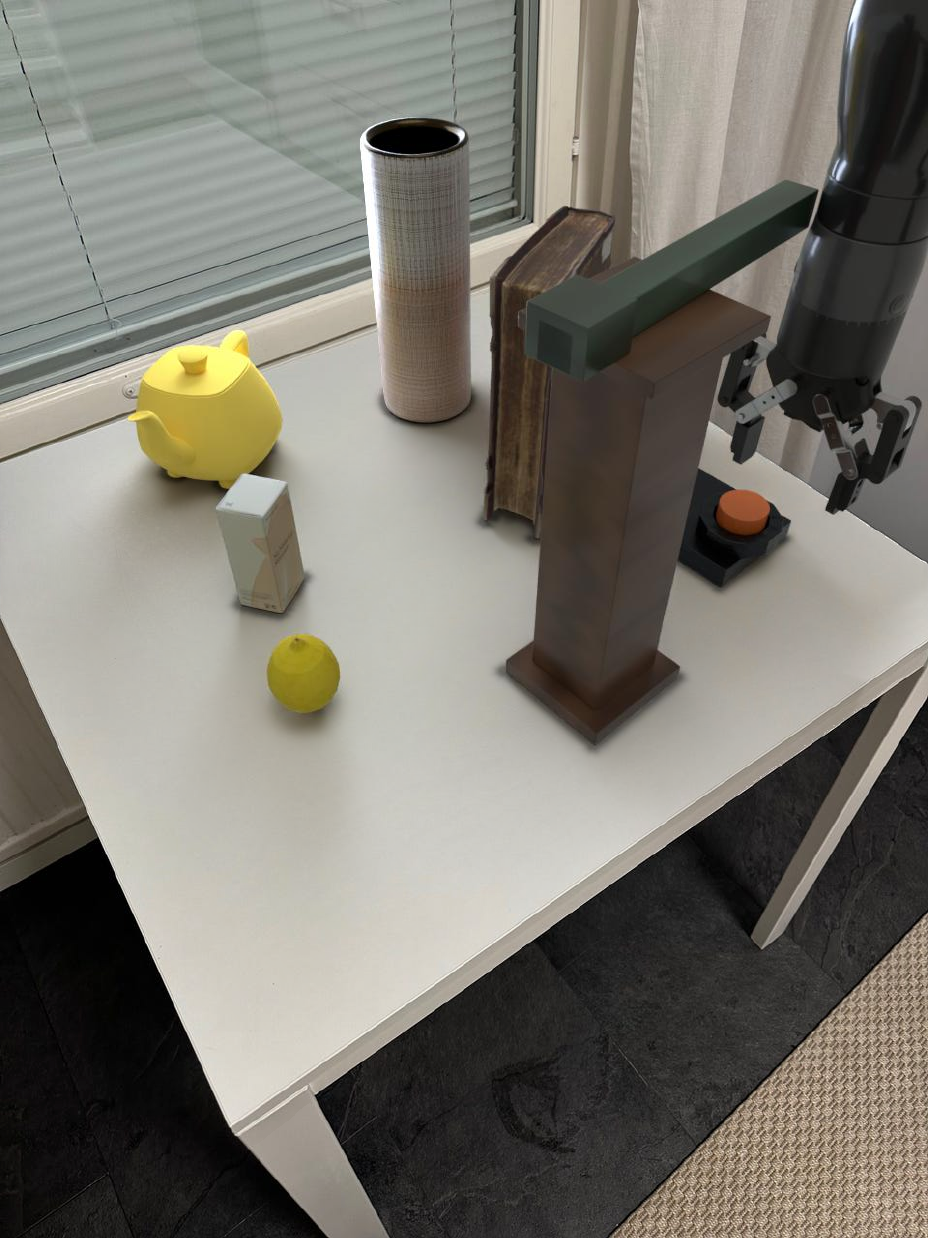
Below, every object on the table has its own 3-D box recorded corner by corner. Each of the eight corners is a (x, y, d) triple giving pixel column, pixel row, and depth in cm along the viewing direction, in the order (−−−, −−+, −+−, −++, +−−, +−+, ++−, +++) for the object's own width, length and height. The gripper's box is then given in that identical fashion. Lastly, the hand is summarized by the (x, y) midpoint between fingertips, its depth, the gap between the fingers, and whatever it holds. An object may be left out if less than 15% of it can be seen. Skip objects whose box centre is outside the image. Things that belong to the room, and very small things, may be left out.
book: (552, 431, 97) (570, 194, 78) (612, 451, 94) (645, 211, 76) (475, 520, 87) (475, 272, 68) (540, 544, 84) (557, 295, 66)
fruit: (261, 708, 72) (242, 642, 66) (312, 667, 74) (298, 600, 68) (309, 745, 69) (293, 680, 63) (359, 701, 72) (348, 635, 66)
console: (796, 544, 84) (807, 511, 81) (731, 595, 80) (741, 562, 77) (685, 479, 91) (692, 447, 88) (620, 523, 86) (625, 490, 83)
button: (775, 520, 81) (779, 505, 80) (745, 542, 79) (750, 527, 78) (735, 497, 83) (739, 482, 82) (705, 518, 81) (709, 503, 80)
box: (282, 615, 78) (260, 519, 70) (238, 605, 79) (211, 509, 71) (307, 575, 82) (288, 479, 74) (264, 566, 83) (241, 470, 75)
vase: (489, 395, 101) (491, 132, 81) (429, 435, 96) (416, 164, 76) (425, 365, 106) (412, 108, 86) (366, 401, 101) (337, 137, 81)
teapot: (106, 509, 89) (64, 402, 80) (207, 400, 101) (180, 297, 92) (226, 536, 86) (196, 428, 77) (314, 420, 98) (297, 316, 89)
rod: (820, 231, 57) (834, 182, 55) (583, 382, 45) (588, 328, 43) (765, 213, 59) (776, 165, 57) (524, 354, 47) (526, 301, 45)
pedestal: (677, 677, 73) (771, 315, 50) (594, 745, 69) (654, 382, 45) (588, 612, 78) (634, 256, 55) (505, 671, 74) (518, 311, 50)
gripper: (982, 308, 57) (894, 504, 69) (790, 236, 64) (741, 425, 76) (923, 351, 53) (841, 550, 65) (727, 270, 61) (685, 462, 72)
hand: (787, 482), depth 71 cm, fingers open, 8 cm apart
